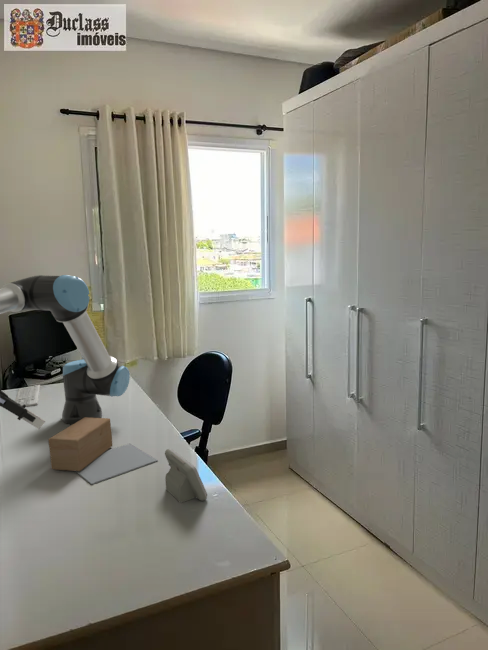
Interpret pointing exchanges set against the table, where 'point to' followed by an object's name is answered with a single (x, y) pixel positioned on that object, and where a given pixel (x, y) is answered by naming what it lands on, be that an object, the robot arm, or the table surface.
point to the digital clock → (183, 478)
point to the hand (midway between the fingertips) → (41, 424)
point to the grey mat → (115, 463)
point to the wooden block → (80, 444)
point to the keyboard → (28, 395)
